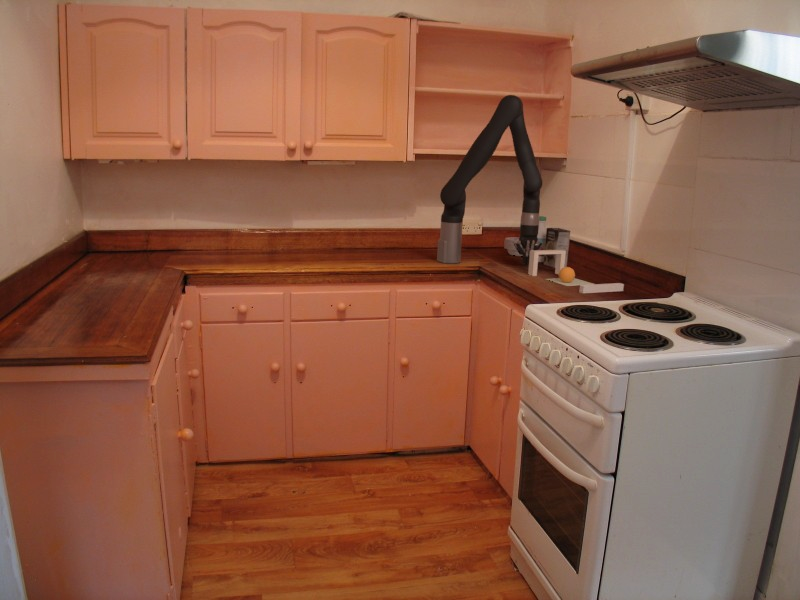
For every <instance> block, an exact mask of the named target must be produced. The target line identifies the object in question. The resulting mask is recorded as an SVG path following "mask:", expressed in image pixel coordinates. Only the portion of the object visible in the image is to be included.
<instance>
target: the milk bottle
mask: <svg viewBox="0 0 800 600" xmlns="http://www.w3.org/2000/svg"><path fill="white" fill-rule="evenodd" d="M546 222H547V217H546V216H543V215H539V229H538V235H537V238H538V241H539V242H540V243H542V245H541V247H540V248H539V250H545V242H546V231H547V225H546ZM538 263H544V254H540V255H539V256H538Z"/></svg>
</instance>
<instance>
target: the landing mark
mask: <svg viewBox="0 0 800 600" xmlns="http://www.w3.org/2000/svg"><path fill="white" fill-rule="evenodd" d="M545 280H546V281H549V280H550V282H552V281H553V282H552V283H556V284H559V285H563V286H565V287H571V286H572V287H573V286H580V285H594V284H595V283H593V282H589V281H586V280H582V279H579V278H576V277H575V278H574V280H573V281H571V282H569V283H565V282H562V281H561V280H560V278H559V277H557V278H554V277H553V278H545Z"/></svg>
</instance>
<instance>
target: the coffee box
mask: <svg viewBox="0 0 800 600" xmlns="http://www.w3.org/2000/svg"><path fill="white" fill-rule="evenodd" d="M546 229H547V231H546V242H545V250H565V251H566V255H565V265H564V267H568V266H567V265H568V257H569V247H570V239H571V237H570V236H571V230H569V229H565V228H561V227H546ZM556 257H557V254H544V262H543V265H544V266H547V267H551V268H553V269H555V268H556Z"/></svg>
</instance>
